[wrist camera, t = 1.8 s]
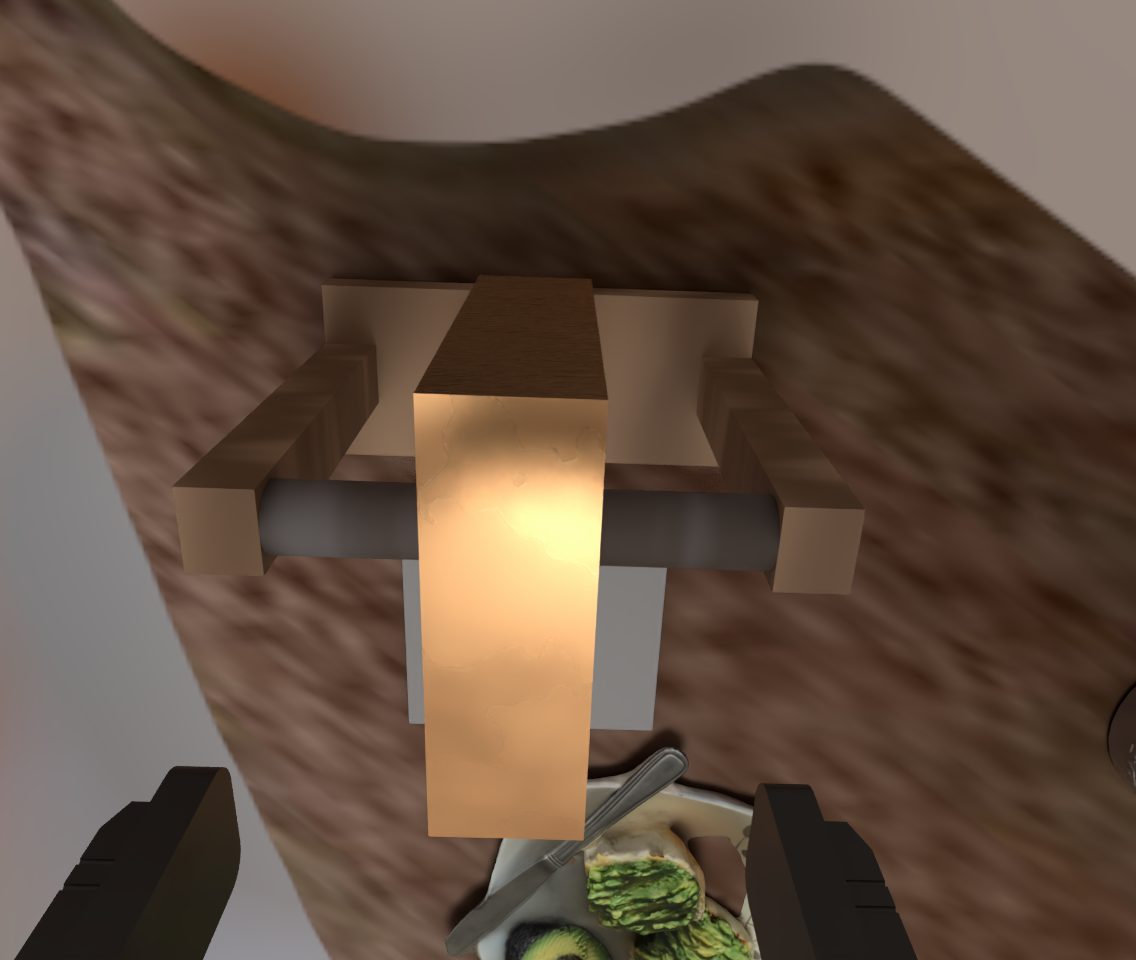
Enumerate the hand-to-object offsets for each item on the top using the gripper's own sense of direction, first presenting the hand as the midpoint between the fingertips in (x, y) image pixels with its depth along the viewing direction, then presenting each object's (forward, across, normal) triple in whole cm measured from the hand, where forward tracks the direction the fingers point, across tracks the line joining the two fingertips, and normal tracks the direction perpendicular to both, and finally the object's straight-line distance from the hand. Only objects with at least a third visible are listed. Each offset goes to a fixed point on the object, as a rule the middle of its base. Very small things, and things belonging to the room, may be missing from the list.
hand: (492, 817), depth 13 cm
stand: (+25, 0, 0) cm, 25 cm away
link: (+17, 0, 0) cm, 17 cm away
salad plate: (+26, -6, +30) cm, 40 cm away
